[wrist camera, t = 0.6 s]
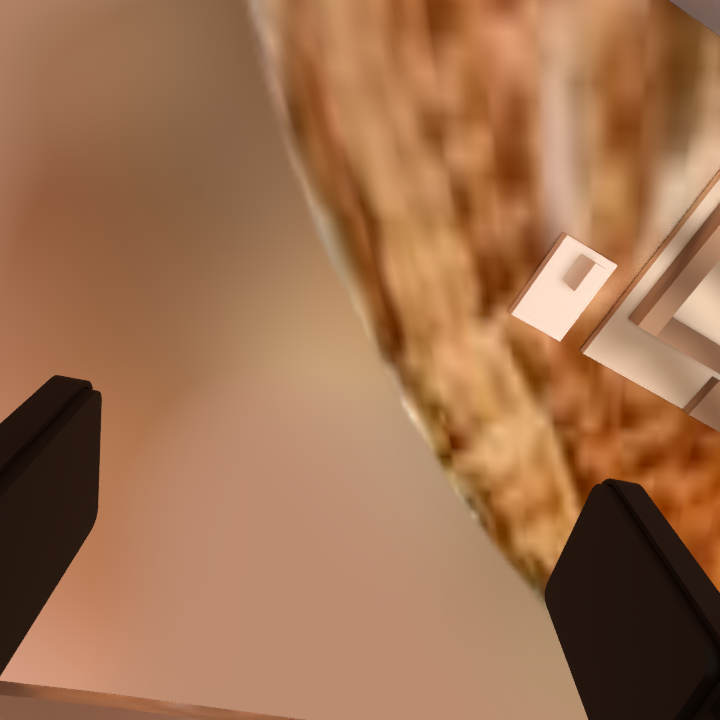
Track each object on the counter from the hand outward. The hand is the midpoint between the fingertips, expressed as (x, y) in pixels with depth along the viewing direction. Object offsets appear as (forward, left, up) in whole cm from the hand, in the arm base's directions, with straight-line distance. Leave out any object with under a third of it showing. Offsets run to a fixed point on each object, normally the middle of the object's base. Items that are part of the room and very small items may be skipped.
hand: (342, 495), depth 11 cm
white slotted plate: (-3, +14, -28) cm, 32 cm away
